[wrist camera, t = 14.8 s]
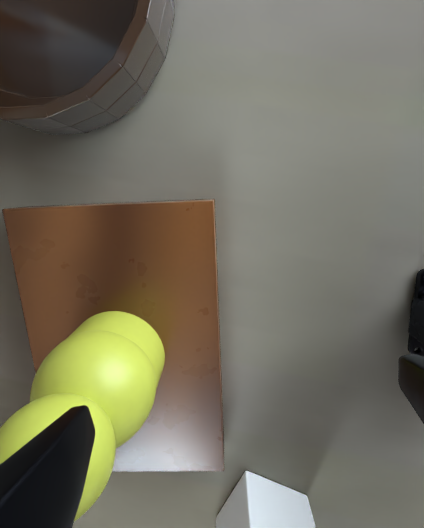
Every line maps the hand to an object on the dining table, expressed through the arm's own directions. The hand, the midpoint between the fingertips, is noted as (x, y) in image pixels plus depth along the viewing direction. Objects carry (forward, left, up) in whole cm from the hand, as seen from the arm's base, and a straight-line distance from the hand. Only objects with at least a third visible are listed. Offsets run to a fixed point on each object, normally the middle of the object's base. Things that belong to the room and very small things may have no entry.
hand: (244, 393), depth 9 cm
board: (+8, +5, -13) cm, 16 cm away
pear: (+8, +5, -11) cm, 14 cm away
